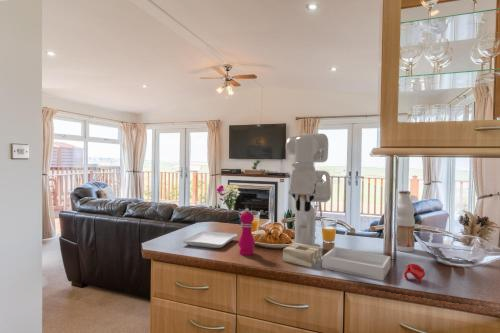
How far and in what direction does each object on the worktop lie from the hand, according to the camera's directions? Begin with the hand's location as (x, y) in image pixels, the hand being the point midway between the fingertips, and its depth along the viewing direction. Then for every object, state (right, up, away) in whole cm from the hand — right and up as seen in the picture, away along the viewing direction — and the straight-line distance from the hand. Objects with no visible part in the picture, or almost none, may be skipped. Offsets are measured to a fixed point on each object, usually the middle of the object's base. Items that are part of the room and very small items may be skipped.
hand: (303, 210), depth 126 cm
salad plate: (-42, -20, +25) cm, 53 cm away
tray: (+19, -21, -8) cm, 30 cm away
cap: (+36, -22, -20) cm, 46 cm away
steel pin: (0, -7, 0) cm, 7 cm away
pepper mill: (-24, -21, +8) cm, 32 cm away
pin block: (0, -21, 0) cm, 21 cm away
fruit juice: (+51, -22, +19) cm, 59 cm away
